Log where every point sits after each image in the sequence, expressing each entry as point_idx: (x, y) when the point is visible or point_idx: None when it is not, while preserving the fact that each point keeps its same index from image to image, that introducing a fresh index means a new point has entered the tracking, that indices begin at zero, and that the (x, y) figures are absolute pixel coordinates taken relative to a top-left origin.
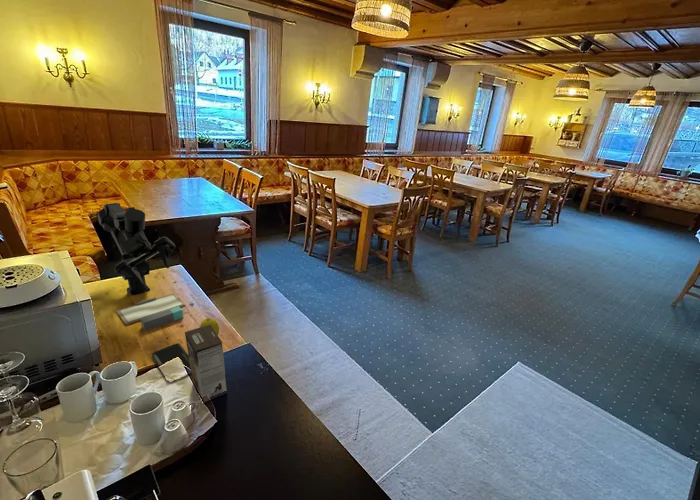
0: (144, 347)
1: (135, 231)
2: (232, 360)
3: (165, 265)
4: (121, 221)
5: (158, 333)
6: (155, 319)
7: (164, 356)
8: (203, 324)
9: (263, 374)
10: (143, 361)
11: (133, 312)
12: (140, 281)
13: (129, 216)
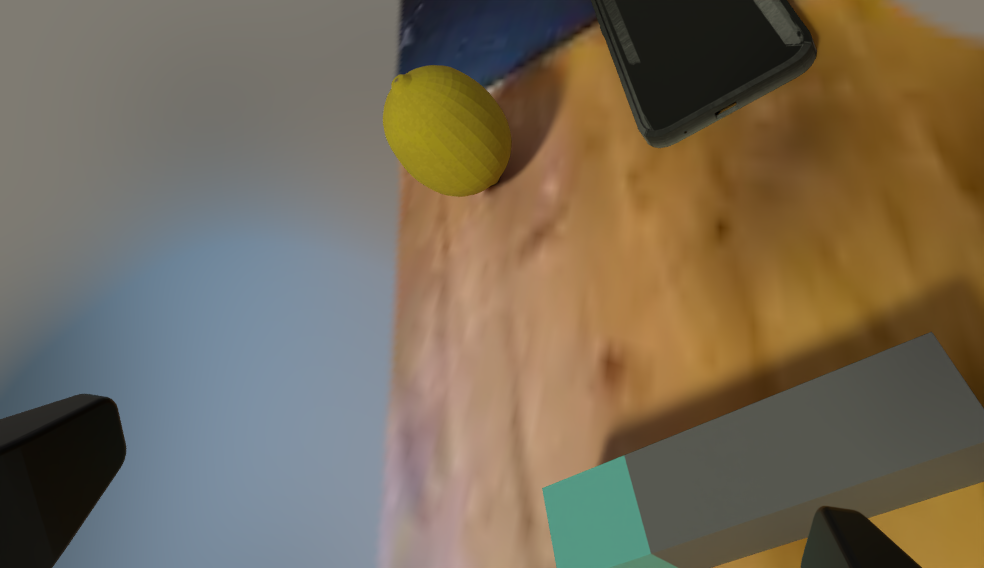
0: (893, 135)
1: None
2: (466, 53)
3: (53, 414)
4: None
5: (797, 302)
6: (801, 388)
7: (731, 35)
8: (441, 70)
9: (418, 2)
10: (869, 8)
11: None
12: (848, 534)
13: None
